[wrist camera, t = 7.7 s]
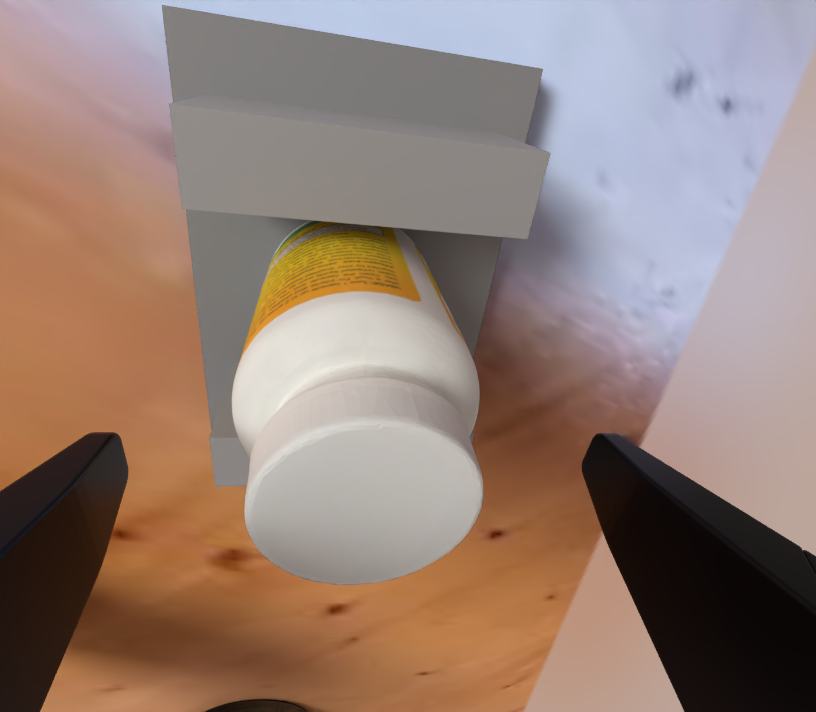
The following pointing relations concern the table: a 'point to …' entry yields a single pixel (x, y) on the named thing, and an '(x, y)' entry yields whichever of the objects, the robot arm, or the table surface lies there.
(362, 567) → the supplement bottle
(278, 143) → the holder
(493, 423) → the table surface
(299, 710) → the container
